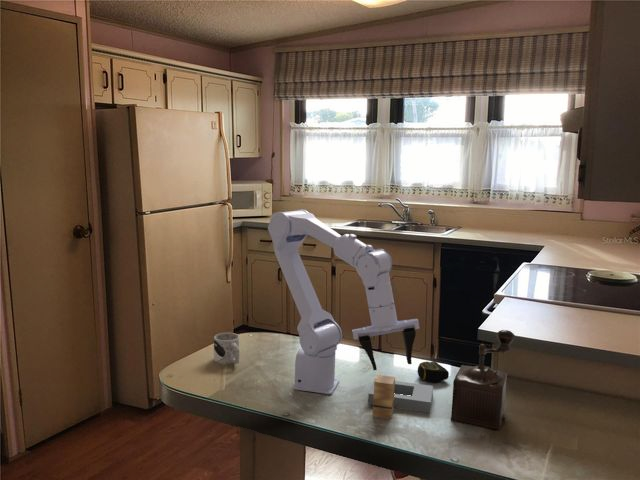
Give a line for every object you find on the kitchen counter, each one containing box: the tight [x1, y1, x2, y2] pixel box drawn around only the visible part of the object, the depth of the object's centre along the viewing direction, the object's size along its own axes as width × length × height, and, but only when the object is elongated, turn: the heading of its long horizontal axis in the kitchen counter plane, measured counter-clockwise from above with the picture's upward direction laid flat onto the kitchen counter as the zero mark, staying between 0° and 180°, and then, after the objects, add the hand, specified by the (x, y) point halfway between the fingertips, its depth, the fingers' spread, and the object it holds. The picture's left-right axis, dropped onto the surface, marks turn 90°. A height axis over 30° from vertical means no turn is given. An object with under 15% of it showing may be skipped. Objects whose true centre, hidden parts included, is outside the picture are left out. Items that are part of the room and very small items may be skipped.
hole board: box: [367, 377, 434, 414], centre depth 128 cm, size 14×9×2 cm, turn 75°
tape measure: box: [417, 360, 450, 383], centre depth 141 cm, size 7×7×4 cm
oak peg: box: [372, 374, 396, 420], centre depth 121 cm, size 4×4×8 cm
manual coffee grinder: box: [450, 329, 516, 432], centre depth 123 cm, size 16×11×18 cm
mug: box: [213, 332, 240, 366], centre depth 147 cm, size 10×7×7 cm
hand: (392, 366), depth 121 cm, fingers open, 7 cm apart
